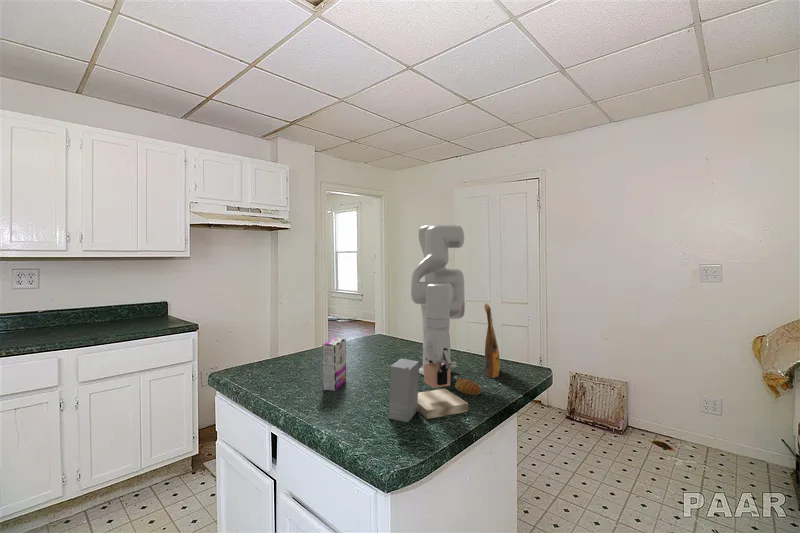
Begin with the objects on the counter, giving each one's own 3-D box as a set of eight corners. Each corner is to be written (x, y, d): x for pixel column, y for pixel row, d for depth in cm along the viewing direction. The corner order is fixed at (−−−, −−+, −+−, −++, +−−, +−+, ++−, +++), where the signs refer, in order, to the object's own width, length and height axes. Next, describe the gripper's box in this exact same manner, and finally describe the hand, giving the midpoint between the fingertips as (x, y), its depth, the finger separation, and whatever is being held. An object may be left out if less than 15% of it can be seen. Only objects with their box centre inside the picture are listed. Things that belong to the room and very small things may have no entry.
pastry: (486, 393, 129) (486, 382, 129) (473, 398, 125) (473, 386, 125) (464, 386, 136) (464, 375, 136) (452, 390, 132) (452, 379, 132)
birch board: (444, 395, 126) (444, 388, 126) (468, 411, 113) (468, 403, 113) (407, 401, 120) (407, 394, 120) (427, 419, 108) (427, 410, 108)
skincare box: (398, 408, 115) (398, 357, 115) (420, 412, 112) (420, 360, 112) (387, 419, 107) (387, 364, 107) (410, 423, 104) (410, 367, 104)
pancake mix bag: (481, 378, 145) (481, 306, 144) (484, 365, 163) (484, 301, 162) (499, 380, 143) (500, 307, 142) (500, 366, 161) (500, 301, 161)
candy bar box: (333, 380, 141) (334, 337, 141) (346, 381, 140) (346, 337, 140) (321, 390, 130) (322, 343, 130) (335, 391, 129) (335, 344, 129)
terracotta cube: (424, 382, 118) (424, 363, 118) (440, 379, 120) (440, 361, 120) (433, 388, 112) (433, 368, 112) (450, 385, 115) (450, 366, 115)
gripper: (414, 320, 123) (414, 374, 123) (440, 328, 107) (440, 391, 107) (434, 319, 126) (434, 372, 126) (462, 327, 110) (462, 388, 110)
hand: (436, 380), depth 116 cm, fingers closed on terracotta cube, 6 cm apart
